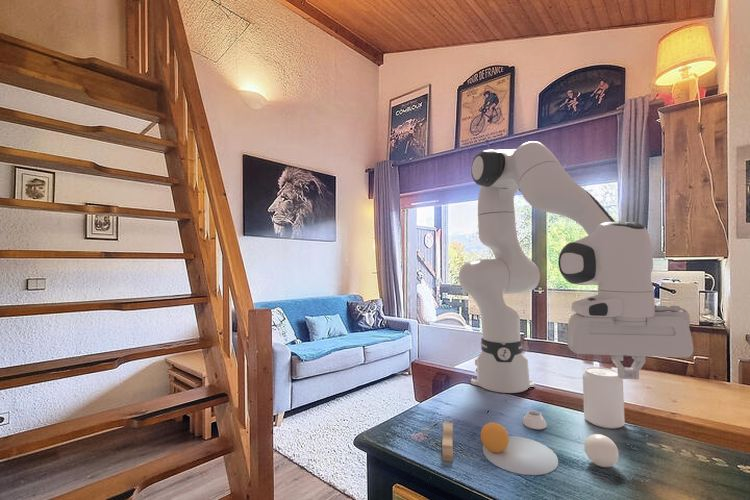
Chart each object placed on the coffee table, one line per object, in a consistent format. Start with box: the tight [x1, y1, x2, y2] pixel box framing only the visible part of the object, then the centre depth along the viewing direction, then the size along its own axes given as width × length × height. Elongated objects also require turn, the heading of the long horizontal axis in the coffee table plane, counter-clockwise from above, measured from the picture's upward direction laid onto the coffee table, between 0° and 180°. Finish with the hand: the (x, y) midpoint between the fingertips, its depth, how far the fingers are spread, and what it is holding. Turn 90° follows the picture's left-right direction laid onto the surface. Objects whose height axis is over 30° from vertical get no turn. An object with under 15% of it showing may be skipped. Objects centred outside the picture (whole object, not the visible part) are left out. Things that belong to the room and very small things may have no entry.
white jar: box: [522, 410, 547, 430], centre depth 84 cm, size 5×3×5 cm
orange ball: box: [480, 422, 509, 453], centre depth 73 cm, size 6×6×6 cm
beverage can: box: [582, 366, 625, 429], centre depth 85 cm, size 8×8×12 cm
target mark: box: [482, 435, 559, 476], centre depth 72 cm, size 14×14×1 cm
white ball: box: [584, 433, 620, 468], centre depth 68 cm, size 6×6×6 cm
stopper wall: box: [441, 421, 454, 463], centre depth 75 cm, size 10×2×3 cm, turn 168°
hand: (628, 378), depth 68 cm, fingers closed
